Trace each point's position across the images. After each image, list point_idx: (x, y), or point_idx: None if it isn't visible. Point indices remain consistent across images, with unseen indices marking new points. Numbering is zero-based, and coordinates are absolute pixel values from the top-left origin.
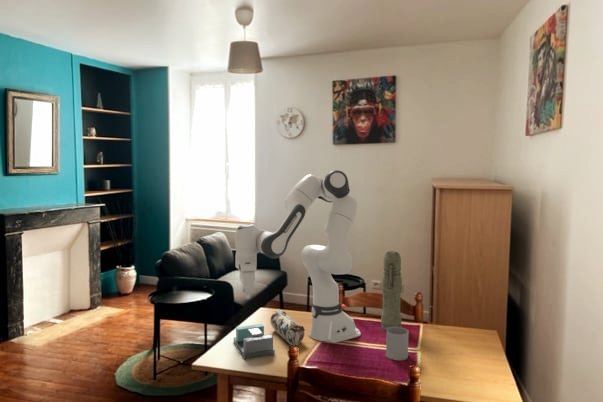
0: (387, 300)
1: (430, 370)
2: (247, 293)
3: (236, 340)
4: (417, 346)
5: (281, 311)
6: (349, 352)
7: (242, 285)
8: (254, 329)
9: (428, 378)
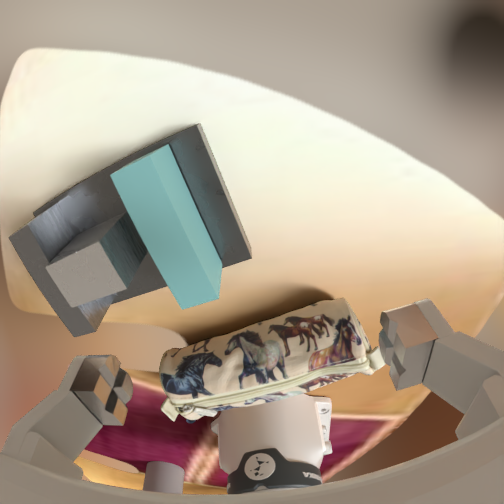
0: None
1: (125, 473)
2: (53, 417)
3: (160, 146)
4: (208, 485)
5: (361, 372)
6: (162, 434)
7: (479, 348)
8: (101, 273)
9: (101, 465)
